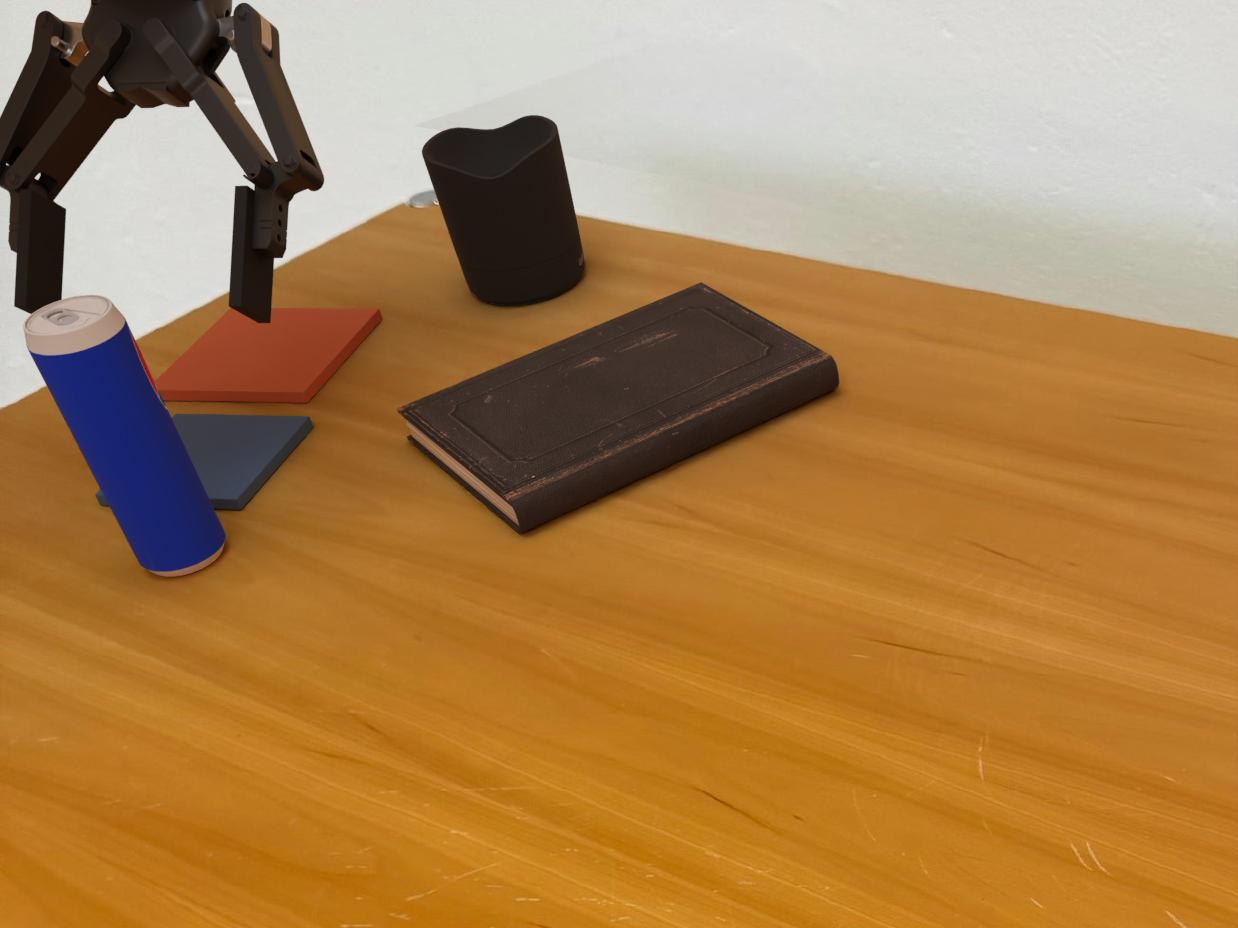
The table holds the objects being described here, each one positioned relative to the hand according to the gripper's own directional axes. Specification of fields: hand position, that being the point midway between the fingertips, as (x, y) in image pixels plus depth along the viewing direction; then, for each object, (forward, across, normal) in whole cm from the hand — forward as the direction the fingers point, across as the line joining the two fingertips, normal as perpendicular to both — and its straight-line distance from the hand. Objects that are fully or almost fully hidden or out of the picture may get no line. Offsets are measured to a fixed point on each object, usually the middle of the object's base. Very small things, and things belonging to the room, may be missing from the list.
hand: (142, 315), depth 91 cm
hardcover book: (+1, -22, -17) cm, 28 cm away
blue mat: (+5, +4, -12) cm, 14 cm away
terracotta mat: (-4, +7, -22) cm, 24 cm away
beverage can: (+13, 0, -5) cm, 14 cm away
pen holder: (-13, -8, -31) cm, 34 cm away
